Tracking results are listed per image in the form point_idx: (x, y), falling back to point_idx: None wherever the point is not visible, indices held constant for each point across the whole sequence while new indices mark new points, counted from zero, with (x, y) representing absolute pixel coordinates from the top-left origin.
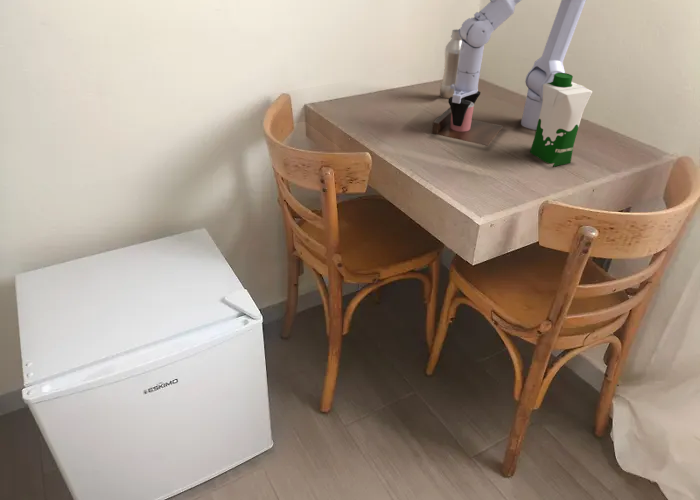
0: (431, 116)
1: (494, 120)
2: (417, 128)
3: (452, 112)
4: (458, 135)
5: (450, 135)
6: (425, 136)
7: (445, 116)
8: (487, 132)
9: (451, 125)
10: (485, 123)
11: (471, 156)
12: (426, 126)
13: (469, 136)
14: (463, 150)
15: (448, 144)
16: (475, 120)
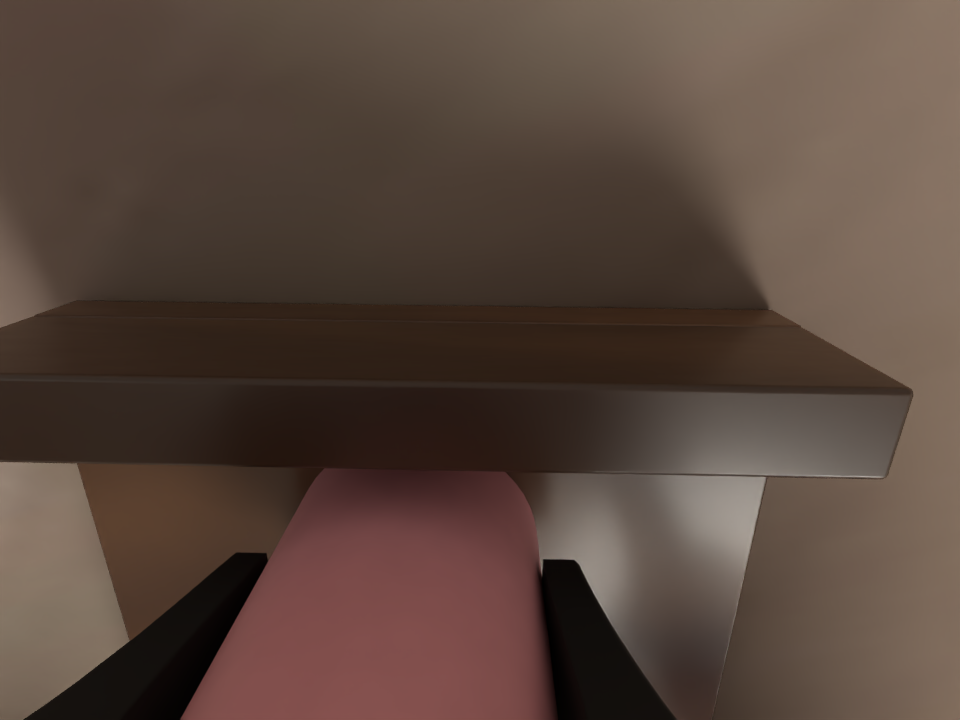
0: (784, 7)
1: (904, 687)
2: (205, 6)
3: (44, 714)
4: (199, 582)
5: (138, 518)
6: (51, 225)
7: (258, 461)
8: None
9: (311, 492)
10: (682, 702)
11: (4, 707)
12: (356, 102)
13: None
14: (54, 639)
15: (63, 506)
16: (726, 613)
